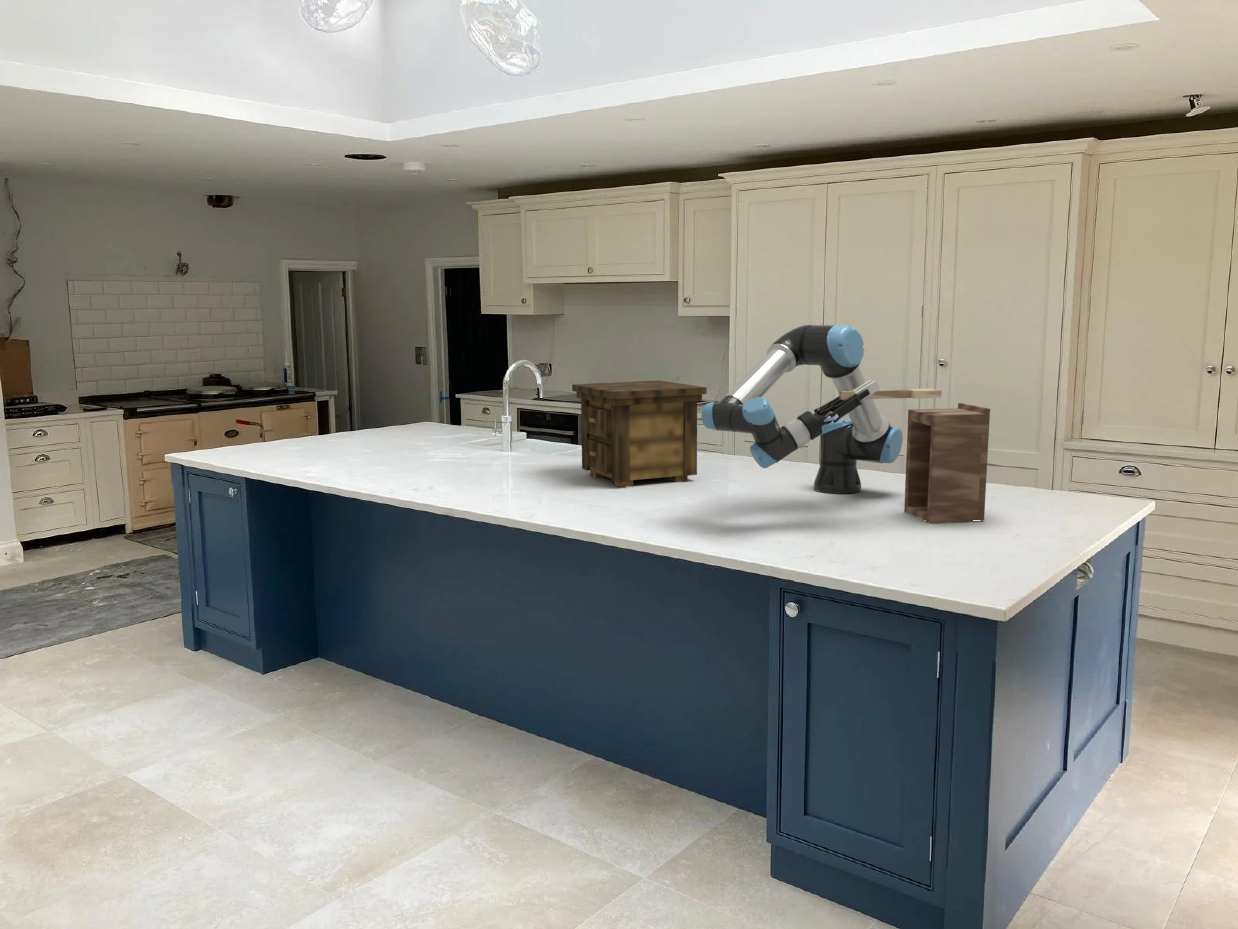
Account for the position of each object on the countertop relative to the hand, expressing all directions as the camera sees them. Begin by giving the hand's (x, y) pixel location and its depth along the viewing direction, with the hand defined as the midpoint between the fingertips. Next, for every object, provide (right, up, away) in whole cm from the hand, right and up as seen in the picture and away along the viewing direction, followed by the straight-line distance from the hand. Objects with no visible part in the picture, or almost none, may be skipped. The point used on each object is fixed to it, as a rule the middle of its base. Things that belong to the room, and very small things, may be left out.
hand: (874, 384), depth 263 cm
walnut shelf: (+22, -37, +11) cm, 44 cm away
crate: (-63, -27, +76) cm, 103 cm away
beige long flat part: (+4, -4, +1) cm, 6 cm away
